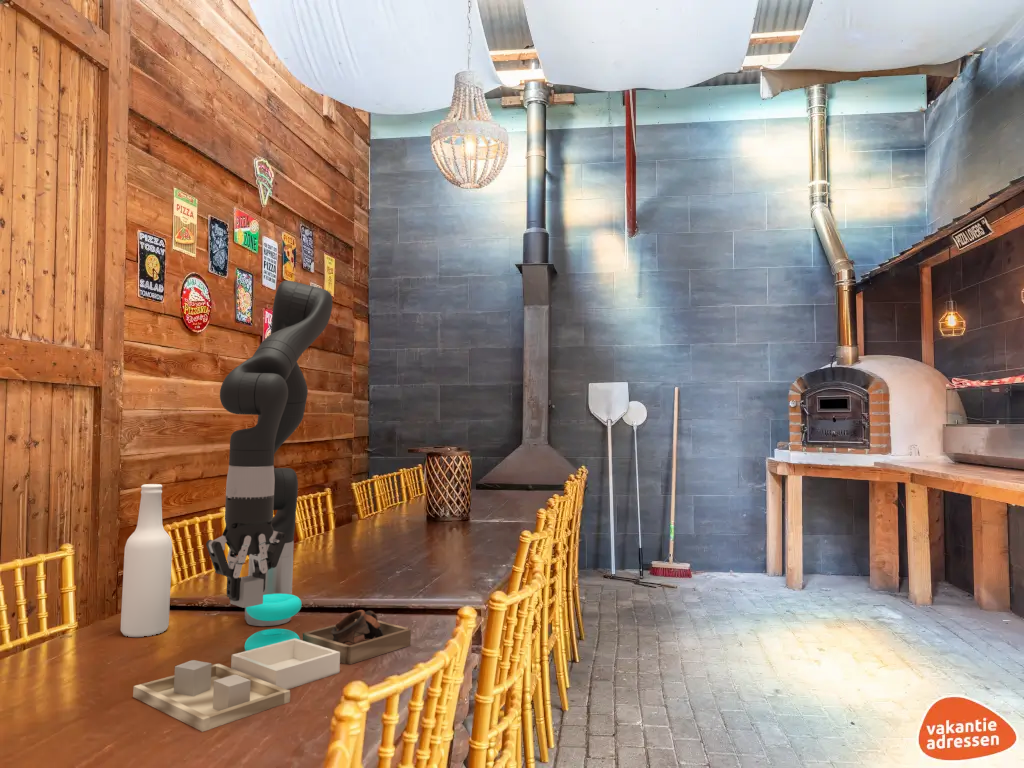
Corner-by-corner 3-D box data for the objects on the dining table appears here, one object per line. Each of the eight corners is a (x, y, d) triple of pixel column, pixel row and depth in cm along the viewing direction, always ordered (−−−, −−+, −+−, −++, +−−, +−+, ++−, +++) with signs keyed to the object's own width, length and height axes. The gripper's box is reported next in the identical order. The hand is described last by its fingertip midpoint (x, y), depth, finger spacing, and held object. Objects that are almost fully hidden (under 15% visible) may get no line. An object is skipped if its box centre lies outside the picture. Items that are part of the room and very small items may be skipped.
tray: (132, 700, 109) (133, 686, 110) (217, 676, 121) (218, 663, 121) (202, 735, 97) (203, 719, 98) (289, 705, 108) (290, 690, 109)
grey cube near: (212, 708, 106) (213, 680, 106) (234, 701, 108) (235, 674, 109) (227, 715, 103) (228, 686, 103) (249, 707, 106) (250, 680, 106)
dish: (230, 679, 120) (231, 654, 120) (294, 660, 130) (295, 638, 130) (275, 697, 112) (276, 670, 112) (339, 675, 122) (340, 652, 122)
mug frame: (300, 649, 136) (300, 633, 136) (364, 631, 149) (364, 617, 149) (348, 665, 128) (348, 647, 128) (412, 644, 140) (412, 629, 141)
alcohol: (126, 640, 140) (134, 486, 142) (115, 630, 147) (123, 484, 149) (174, 632, 146) (180, 485, 148) (161, 623, 153) (168, 482, 155)
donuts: (305, 601, 133) (247, 606, 129) (303, 656, 132) (245, 662, 128) (298, 590, 142) (245, 594, 138) (296, 641, 141) (242, 647, 137)
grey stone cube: (173, 692, 111) (174, 666, 112) (191, 685, 115) (192, 659, 115) (193, 696, 110) (194, 669, 110) (210, 689, 113) (211, 663, 113)
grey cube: (230, 603, 117) (230, 578, 117) (249, 599, 120) (250, 575, 120) (243, 607, 115) (244, 582, 115) (262, 603, 117) (263, 579, 118)
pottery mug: (383, 660, 132) (362, 623, 131) (340, 679, 134) (318, 643, 133) (398, 626, 144) (378, 592, 143) (358, 644, 146) (338, 610, 144)
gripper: (275, 488, 126) (271, 586, 125) (197, 493, 115) (192, 601, 114) (300, 492, 121) (296, 594, 121) (221, 498, 110) (216, 610, 110)
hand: (245, 597), depth 117 cm, fingers closed on grey cube, 3 cm apart
